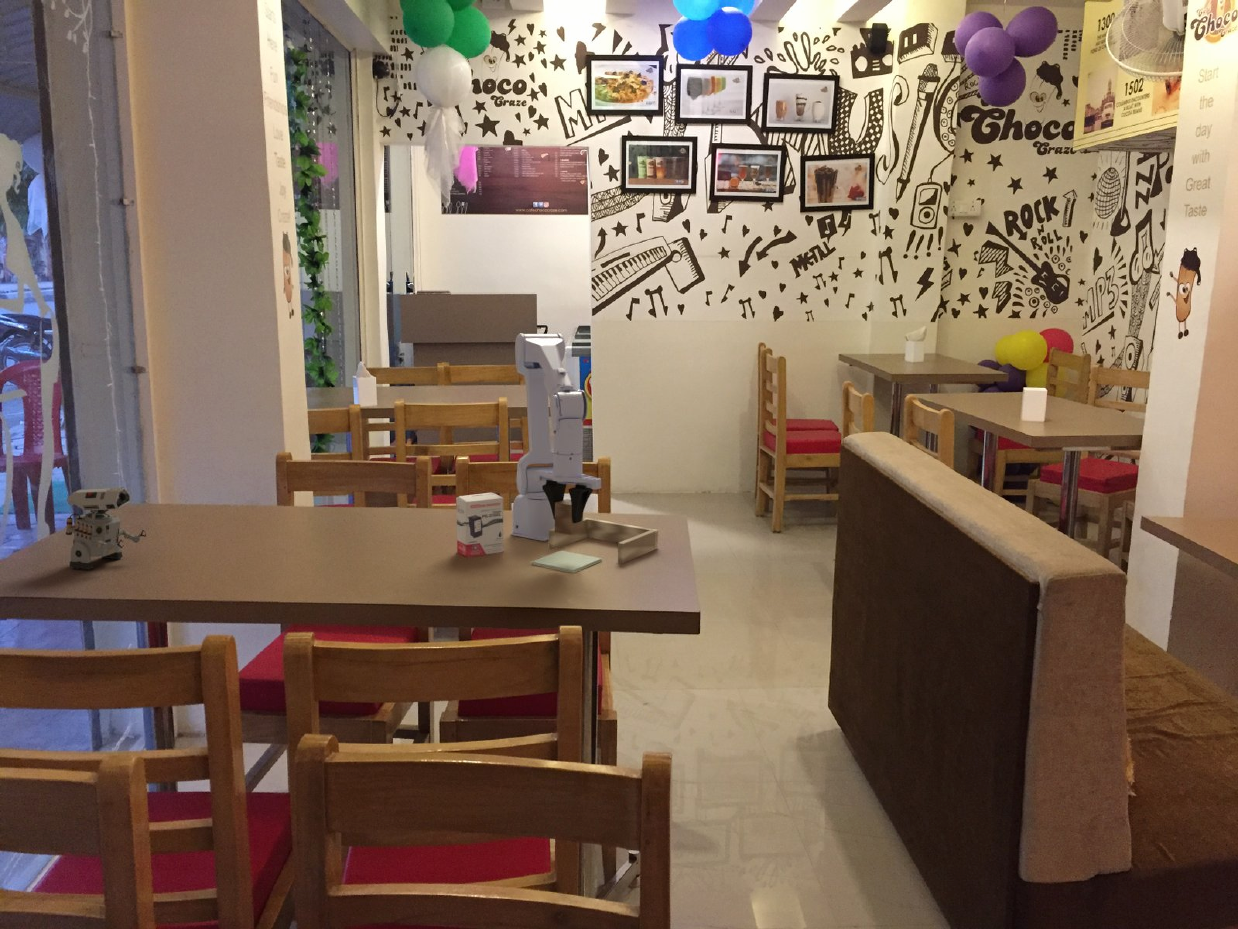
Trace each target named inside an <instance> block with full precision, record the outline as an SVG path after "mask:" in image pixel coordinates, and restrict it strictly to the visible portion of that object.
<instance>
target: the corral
mask: <svg viewBox="0 0 1238 929" xmlns="http://www.w3.org/2000/svg"><path fill="white" fill-rule="evenodd" d="M586 538H590V539H596V540H602V541H606V542H612V543H617V546H618V547H617V563H620V564H624V563H626V562H629V561H632V560H635V558H638V557H641V556H643V555H645V554H648V553H651V552H652V551H654V550H657V549H658V548H659V529H655V528H654V529H653V528H648V527H643V526H639V525H638V526H636V525H632V524H625V523H621V522H620V523H619V522H614V521H609V520H602V519H598V518H597V519H596V518H591V517H583V531H582V532H579V533H576V534H573V535H568V534H563V533H557V532H555V528H554V529H551V530H549V540H548V549H549V550H556V549H558V548H562V547H565V546H567V545H569V544H572V543H576V542H578V541H581V540H583V539H586Z"/></svg>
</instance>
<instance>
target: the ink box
mask: <svg viewBox="0 0 1238 929" xmlns="http://www.w3.org/2000/svg"><path fill="white" fill-rule="evenodd" d="M455 500H456V544H457V545H456V551H457V553H458V554H460V555H462V556H464V557H465V558H471V557H477V556H486V555H491V554H498V553H503V552H504V497H503V496H500V495H498V494H496V493H494V492H485V493H478V494H477V493H475V494H469V495H459V496H458V497H456V499H455Z"/></svg>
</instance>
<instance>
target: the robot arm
mask: <svg viewBox="0 0 1238 929" xmlns="http://www.w3.org/2000/svg"><path fill="white" fill-rule="evenodd" d="M514 344H515V346H514V356H515V357H514V358H515V368H516V372H517V373H518V374H520V375H522V376H523V377H524V383H525V390H526V392H525V393H526V394H525V395H526V409H527V414H526V415H527V432H528V433H527V434H528V452H527V453H526V454H524V455H523V456H522V457H520V458H519V459H518V461H517V465H516V469H517V470H516V489H517V492H518V493H519V494H518V495H516V497H515V499H514V501H513V504H512V532H510V536H515V537H521V538H525V539H532V540H537V541H542V542H546V541H549V530H551V529H554V528H555V502H558V501H562V500H565V498H564V497H565V492H566V488H567V486H568V485H569V486H574V487H571V488H568V493H569V498H570V500H571V504H572V521H573V523H578V522H581V520H582V515H583V516H584V511H585V508H586V505H587V503H588V500H589V498H590V497H591V495H592V493H593V491H594V490H595V491H596V490H599V489H602V478H600V477H595V476H591V475H588V474H585V473H583V461H584V460H583V459H584V458H583V450H584V449H583V448H584V446H583V445H584V421H586V419H587V416H588V399H587V395H586V392H585V390H583V389H582V390H581V388H579V389H578V388H577V385H576V383H575V381H574V378H573V377H572V375H571V373H570V371H569V370H567V369H565V368H564V367H563V360H564V359H565V354H566V345H565V344H566V342H565V338H564V336H563V335H562V334H561V333H558V332H557V333H521V332H520V333H519V334H518V335H517V336H516V337H515V343H514ZM550 418H551V420H550ZM550 421H551V430H553V451H552V450H551V449H552V448H551V430H550ZM529 465H533V466H529ZM534 465H538V466H534Z"/></svg>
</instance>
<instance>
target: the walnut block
mask: <svg viewBox="0 0 1238 929" xmlns="http://www.w3.org/2000/svg"><path fill="white" fill-rule="evenodd" d="M583 518H584V514H583V515H582V520H581V522H578V523H573V521H572V504H571V499H568V498H566V499H565V498H564V500H562V501H558V502H555V532H557V533H563V534H568V535H573V534H576V533H579V532H582V531H583Z"/></svg>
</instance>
